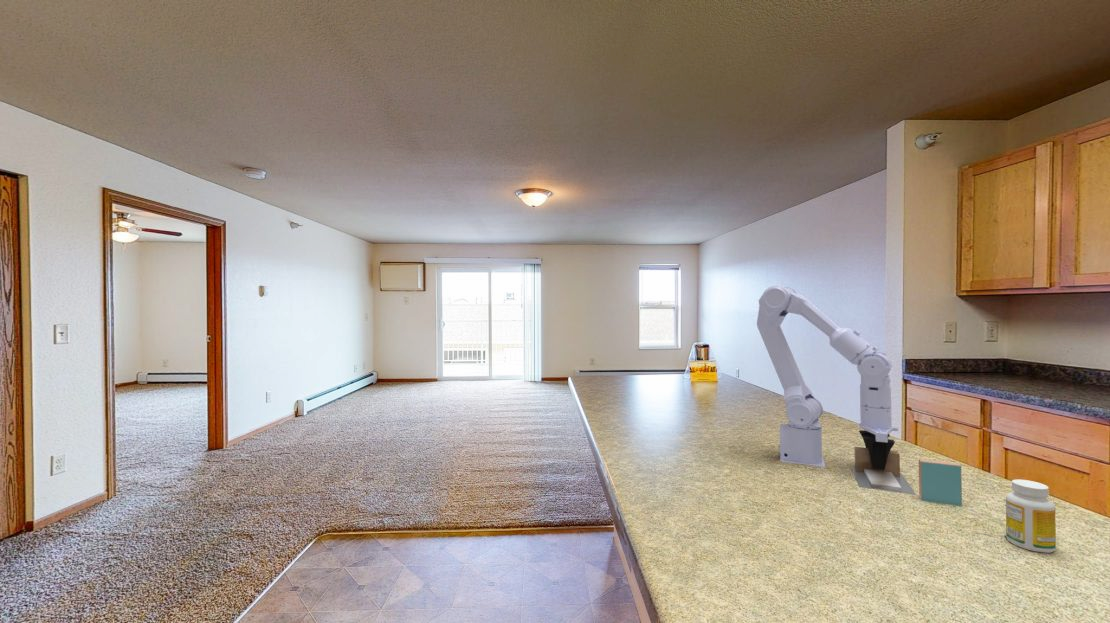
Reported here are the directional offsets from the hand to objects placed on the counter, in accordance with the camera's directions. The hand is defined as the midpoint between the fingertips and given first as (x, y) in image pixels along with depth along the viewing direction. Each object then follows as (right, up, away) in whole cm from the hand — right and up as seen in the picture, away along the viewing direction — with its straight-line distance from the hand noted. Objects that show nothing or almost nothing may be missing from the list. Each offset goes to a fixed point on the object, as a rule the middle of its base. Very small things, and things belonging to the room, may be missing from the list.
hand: (876, 466), depth 101 cm
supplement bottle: (+2, -2, -31) cm, 31 cm away
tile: (+1, -2, -16) cm, 16 cm away
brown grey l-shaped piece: (-2, -1, -4) cm, 4 cm away
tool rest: (-2, -2, -4) cm, 5 cm away
